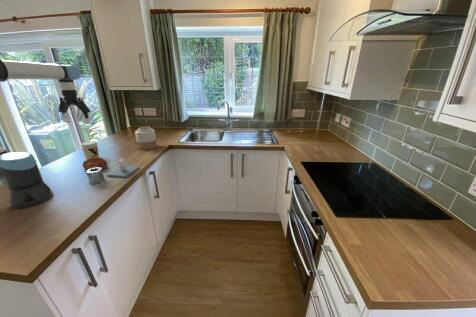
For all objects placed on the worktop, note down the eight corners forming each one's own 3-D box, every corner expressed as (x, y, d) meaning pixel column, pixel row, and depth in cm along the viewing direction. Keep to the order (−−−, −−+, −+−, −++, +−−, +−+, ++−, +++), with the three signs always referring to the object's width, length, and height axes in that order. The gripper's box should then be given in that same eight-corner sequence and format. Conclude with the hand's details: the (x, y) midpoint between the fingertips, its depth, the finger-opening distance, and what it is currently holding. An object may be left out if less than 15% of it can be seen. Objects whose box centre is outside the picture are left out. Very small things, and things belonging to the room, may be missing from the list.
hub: (98, 184, 115) (94, 173, 112) (86, 183, 116) (83, 172, 113) (106, 178, 122) (104, 167, 119) (96, 177, 122) (93, 167, 120)
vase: (133, 149, 171) (129, 129, 165) (145, 143, 185) (142, 125, 179) (149, 150, 168) (146, 130, 162) (160, 145, 182) (157, 126, 175)
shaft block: (126, 177, 123) (123, 165, 120) (107, 176, 124) (104, 164, 121) (139, 168, 136) (137, 156, 133) (122, 167, 137) (120, 155, 134)
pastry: (115, 168, 136) (112, 156, 133) (90, 176, 124) (87, 164, 121) (101, 162, 144) (98, 152, 141) (76, 170, 132) (73, 159, 129)
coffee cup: (93, 161, 145) (88, 145, 141) (82, 160, 147) (77, 144, 143) (103, 156, 154) (99, 141, 150) (93, 155, 156) (88, 140, 151)
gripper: (91, 89, 130) (99, 122, 138) (56, 88, 133) (65, 121, 141) (81, 90, 123) (90, 124, 131) (44, 89, 126) (55, 123, 134)
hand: (77, 123), depth 136 cm, fingers open, 13 cm apart
